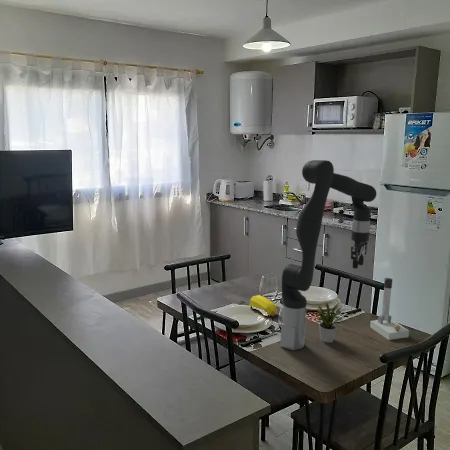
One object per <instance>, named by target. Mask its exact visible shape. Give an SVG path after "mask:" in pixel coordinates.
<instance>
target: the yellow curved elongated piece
mask: <svg viewBox="0 0 450 450" xmlns="http://www.w3.org/2000/svg"><path fill="white" fill-rule="evenodd" d="M250 306H253V307H256V308H259V309H262V310H264V311H265V312H267V314H268V315H269V317H275V316H277V313H278V309H277V304H276V303H275V302H273V301H271V300H270V299H268V298H267V297H265V296H263V295H260V294H257V295H252V297H251V298H250V299H249V307H250Z"/></svg>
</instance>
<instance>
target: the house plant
mask: <svg viewBox="0 0 450 450" xmlns="http://www.w3.org/2000/svg"><path fill="white" fill-rule="evenodd" d="M324 304H325V308H326V314H325V312H324V310H323V308H322V307H321V306H320V305H319V304H317V303H316V302H315V305H316V306H317V314H316V315H318V316H319V317H318V316H315V318H317V319H319V320H317V321H316V323H319V325H318V327H319V335H320V341H321V342H324V343H333V342H334V341H335V340H334V339H335V335H336V330H337V327H338V326H337V324H341V325H342V322H343V319H342V318H337V319H336V320H335V318H336V317H337V316H338V315H339V314H341V312H343V311H349V309H347V308H346V309H345V308H344V309H343V307H338V306H339V305H340V304H341V302H337V303H336V304H335V305H334V306H333V308H332V311H330V305H329V304H328V302H327V301H326V300H324ZM336 309H337V310H336ZM335 310H336V311H335ZM334 312H335V313H334Z"/></svg>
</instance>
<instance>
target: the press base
mask: <svg viewBox="0 0 450 450" xmlns="http://www.w3.org/2000/svg"><path fill="white" fill-rule="evenodd" d="M369 323H370V324H369V327H370V328H371V329H372V330H373V331H375V332H376V333H378V334H379V335H380V336H382V337H384V338H385V339H386V340H388V341H390V340H398V339H399V340H400V339H404V338H409V336H410V335H409V334H410V329H407V328H405V327H404V326H402V325H401V324H399V323H397V322H396V321H395V320H393V319H392V315H390V314H389V317H388V320H384V321H383V317H382V314H381V315H378V317H377V319H375V320H370V322H369Z"/></svg>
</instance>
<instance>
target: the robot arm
mask: <svg viewBox="0 0 450 450" xmlns="http://www.w3.org/2000/svg"><path fill="white" fill-rule="evenodd" d="M301 174H302V178H303V180H304V181H305V182H307V183H309V184H313V185H314V188H313V192H312V195H311V197H310V198H309V200H308V201H307V203H306V204H305V205H304V206H303V208H302V209H301V211H300V212H299V214H298V218H297V223H296V229H295V232H296V234H295V235H296V237H297V241H298V244H299V246H300V249H301V254H302V257H301V258H302V259H301V265H297V264H293V263H289V264H288V263H287V265H285V267H284V268H283V270H282V275H281V300H282V313H281V314H282V317H281V327H280V347H282V348H283V349H284V348H285V349H288V350H291V351H296V350H301V349H303V348H305V339H306V338H305V336H306V321H307V320H306V317H307V316H306V315H307V298H306V296H304V295H303V294H302V292H306V291H308V290H309V289H310V287H311V285H312V282H313V278H314V272H315V271H314V269H315V259H316V253H317V247H318V241H319V237H320V233H321V228H322V223H323V217H324V213H325V208H326V204H327V198H328V195H329V192H330V190H331V189H333V190H334V191H338V192H340V193H342V194H344V195H346V196H350V197H351V202H352V207H353V208H352V209H353V220H352V224H351V235H350V236H351V237H350V238H351V241H352V242H354V244H353V246H351V247H350V260H352V268H353V269H358V268H359V266H363V265H364V258H365V257H366V255H367V252H368V243H369V240H370V229H371V208H370V207H368V206H366V205H365V203H364V202H366V203H371V202H373V201H374V200H375V199H376V197H377V191H376V188H375V186H372V185H370V184H368V183H364V182H360V181H358V180H356V179H354V178H352V177H350V176H347V175H345V174H344V175H343V174H340V173H336V172H335V169H334V165H333V163H332V162H331V161H330V160H327V159H326V160H324V159H318V160H317V159H316V160H308V161H307V162H305V163H304V164H303V166H302V170H301ZM298 290H299V291H300V292H301V293H299V291H298Z"/></svg>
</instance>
